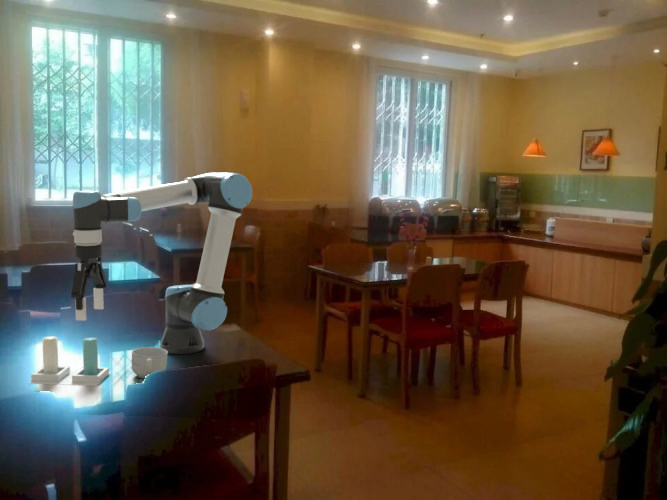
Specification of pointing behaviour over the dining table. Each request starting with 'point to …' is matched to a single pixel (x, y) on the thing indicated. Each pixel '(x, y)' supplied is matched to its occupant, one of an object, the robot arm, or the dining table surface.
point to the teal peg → (90, 356)
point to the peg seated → (50, 355)
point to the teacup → (148, 360)
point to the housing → (68, 377)
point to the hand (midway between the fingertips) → (90, 314)
